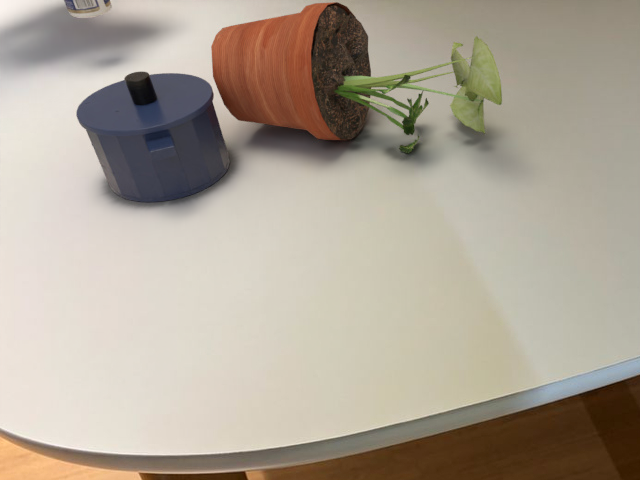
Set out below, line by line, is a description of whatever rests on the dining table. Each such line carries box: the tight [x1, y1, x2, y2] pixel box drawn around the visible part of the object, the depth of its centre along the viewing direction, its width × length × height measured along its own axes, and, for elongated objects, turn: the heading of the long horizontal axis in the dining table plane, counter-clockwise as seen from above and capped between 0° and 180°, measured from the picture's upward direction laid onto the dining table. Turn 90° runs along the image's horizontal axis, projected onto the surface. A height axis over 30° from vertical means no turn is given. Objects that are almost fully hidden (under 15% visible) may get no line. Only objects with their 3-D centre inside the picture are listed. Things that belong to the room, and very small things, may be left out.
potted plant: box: [210, 1, 503, 154], centre depth 86 cm, size 16×15×35 cm
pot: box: [85, 100, 230, 203], centre depth 85 cm, size 13×18×8 cm
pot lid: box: [75, 71, 214, 136], centre depth 81 cm, size 13×13×4 cm
